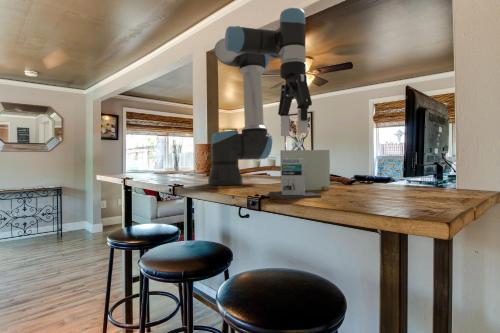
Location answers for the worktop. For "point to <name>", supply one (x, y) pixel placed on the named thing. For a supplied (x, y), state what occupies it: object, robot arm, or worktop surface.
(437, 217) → the worktop surface
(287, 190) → the light bulb box
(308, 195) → the mat
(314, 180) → the screen
